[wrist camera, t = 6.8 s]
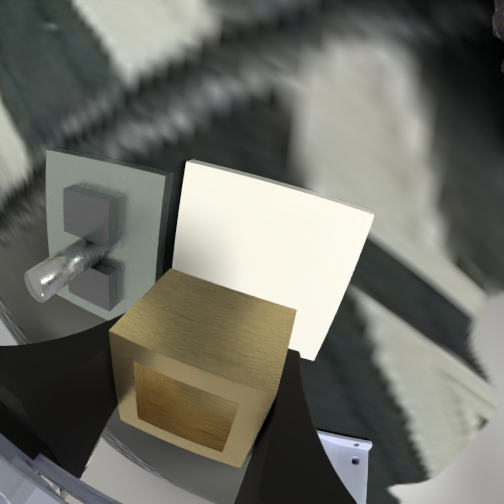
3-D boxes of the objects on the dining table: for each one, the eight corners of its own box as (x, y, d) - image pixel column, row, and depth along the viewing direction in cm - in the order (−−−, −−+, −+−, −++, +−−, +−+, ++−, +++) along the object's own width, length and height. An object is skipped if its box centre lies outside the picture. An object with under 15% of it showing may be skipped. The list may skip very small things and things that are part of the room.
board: (372, 210, 16) (374, 214, 15) (314, 352, 20) (313, 360, 19) (192, 159, 17) (186, 161, 16) (173, 305, 21) (168, 312, 21)
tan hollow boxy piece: (296, 309, 11) (276, 395, 7) (264, 393, 13) (240, 468, 10) (170, 268, 12) (108, 330, 8) (163, 356, 14) (120, 419, 10)
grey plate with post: (174, 172, 18) (97, 205, 12) (158, 332, 23) (110, 394, 17) (56, 147, 19) (-20, 168, 13) (61, 287, 24) (8, 328, 18)
